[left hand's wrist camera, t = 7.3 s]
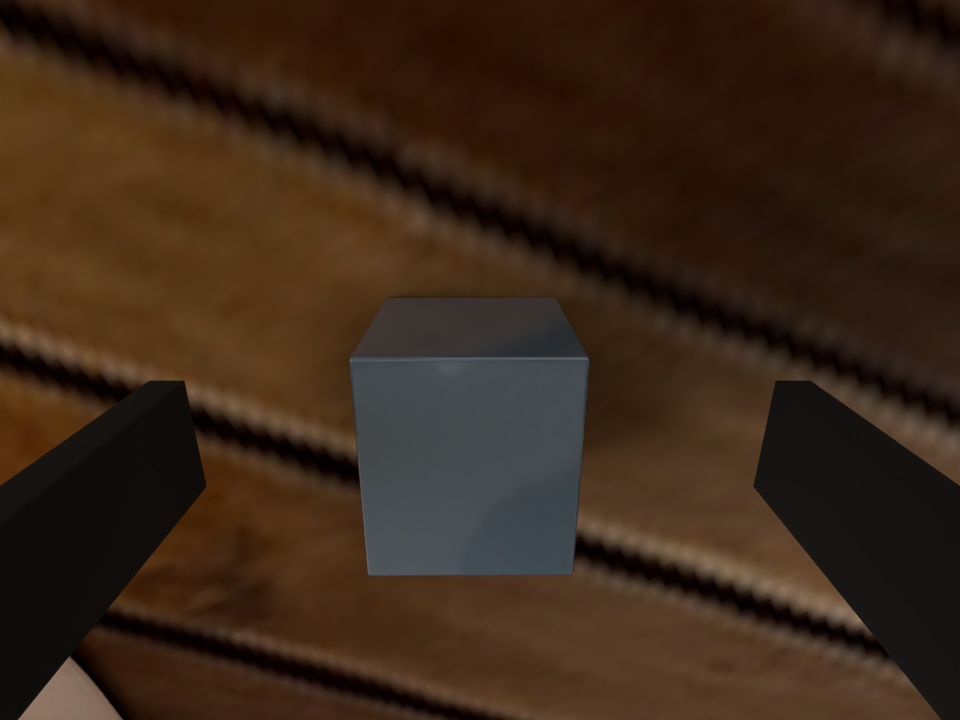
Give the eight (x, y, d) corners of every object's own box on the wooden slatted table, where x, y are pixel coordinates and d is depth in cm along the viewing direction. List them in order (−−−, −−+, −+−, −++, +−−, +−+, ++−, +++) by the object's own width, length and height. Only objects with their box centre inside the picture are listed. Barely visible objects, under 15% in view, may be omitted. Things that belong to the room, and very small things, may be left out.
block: (556, 296, 15) (590, 357, 10) (547, 465, 16) (574, 576, 12) (385, 296, 14) (347, 357, 10) (395, 465, 16) (367, 577, 12)
